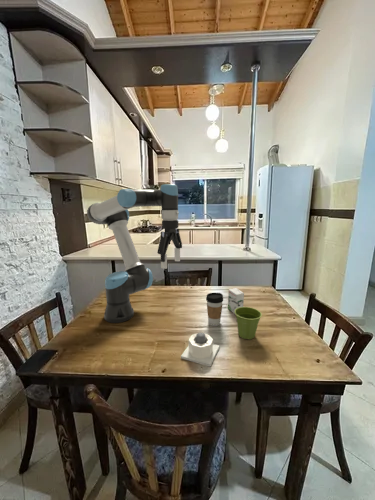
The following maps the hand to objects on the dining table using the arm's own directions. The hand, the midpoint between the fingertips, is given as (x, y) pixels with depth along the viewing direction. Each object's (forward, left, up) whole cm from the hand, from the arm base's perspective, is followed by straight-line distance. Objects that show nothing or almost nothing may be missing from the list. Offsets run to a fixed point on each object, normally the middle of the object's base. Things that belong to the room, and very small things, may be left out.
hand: (171, 264), depth 109 cm
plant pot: (+36, +4, -31) cm, 48 cm away
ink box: (+26, +26, -31) cm, 48 cm away
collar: (+21, -16, -30) cm, 40 cm away
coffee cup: (+19, +9, -31) cm, 37 cm away
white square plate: (+21, -16, -31) cm, 40 cm away
